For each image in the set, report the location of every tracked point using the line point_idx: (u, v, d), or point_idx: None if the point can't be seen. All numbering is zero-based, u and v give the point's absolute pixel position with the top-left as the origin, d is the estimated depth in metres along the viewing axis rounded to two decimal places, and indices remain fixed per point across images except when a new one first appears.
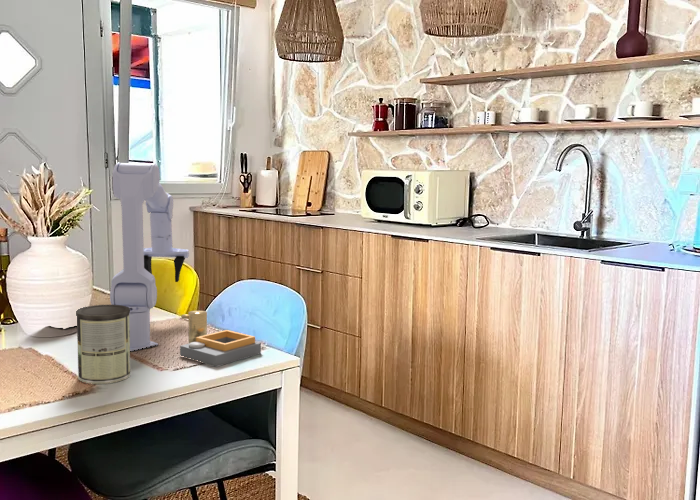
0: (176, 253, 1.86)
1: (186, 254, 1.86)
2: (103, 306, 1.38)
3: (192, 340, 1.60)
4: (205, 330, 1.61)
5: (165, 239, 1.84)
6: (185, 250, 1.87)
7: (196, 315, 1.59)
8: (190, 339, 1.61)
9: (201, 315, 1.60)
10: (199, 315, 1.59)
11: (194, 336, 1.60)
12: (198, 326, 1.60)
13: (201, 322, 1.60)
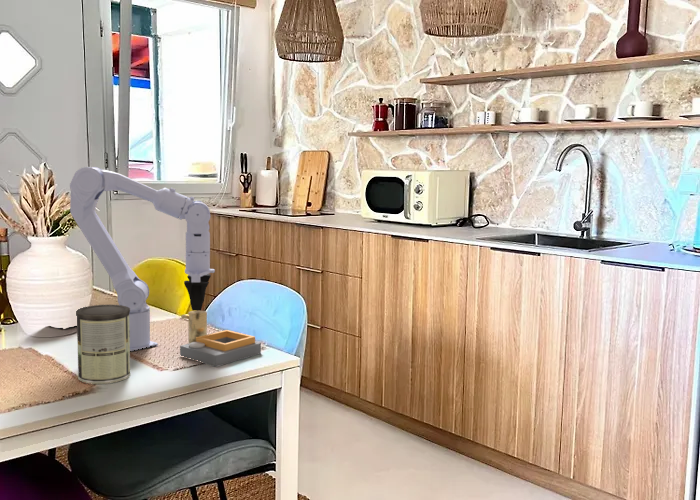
0: (189, 274, 1.56)
1: (191, 277, 1.53)
2: (103, 306, 1.38)
3: (192, 340, 1.60)
4: (205, 330, 1.61)
5: (187, 254, 1.58)
6: (195, 273, 1.54)
7: (196, 315, 1.59)
8: (190, 339, 1.61)
9: (201, 315, 1.60)
10: (199, 315, 1.59)
11: (194, 336, 1.60)
12: (197, 326, 1.60)
13: (201, 322, 1.60)
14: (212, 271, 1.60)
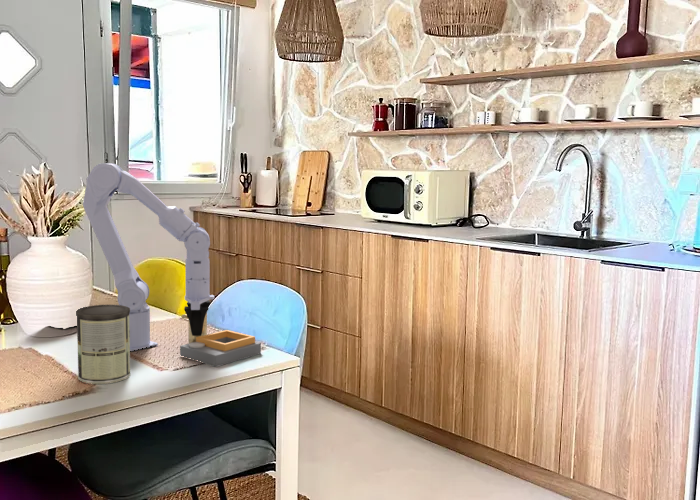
0: (189, 301, 1.56)
1: (191, 305, 1.54)
2: (103, 306, 1.38)
3: (192, 340, 1.60)
4: (205, 330, 1.61)
5: (187, 281, 1.59)
6: (195, 301, 1.55)
7: None
8: (190, 339, 1.61)
9: None
10: None
11: (194, 336, 1.60)
12: None
13: None
14: (212, 298, 1.60)
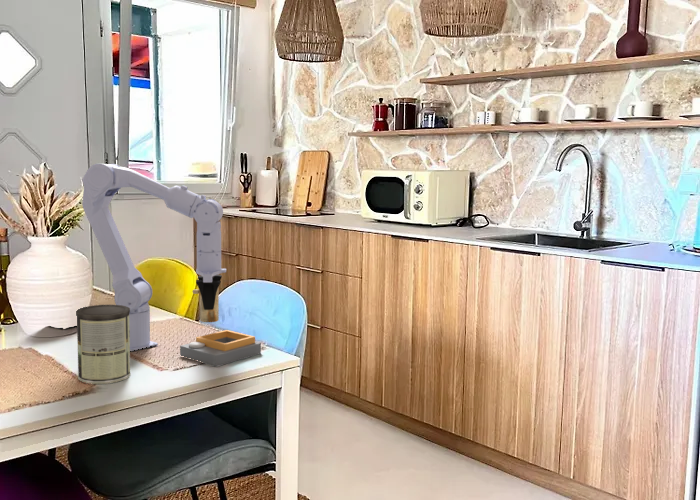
0: (200, 274, 1.53)
1: (203, 277, 1.50)
2: (103, 306, 1.38)
3: (203, 315, 1.57)
4: (217, 305, 1.58)
5: (198, 254, 1.55)
6: (207, 273, 1.51)
7: None
8: (201, 315, 1.57)
9: None
10: None
11: (205, 311, 1.56)
12: None
13: None
14: (224, 271, 1.57)
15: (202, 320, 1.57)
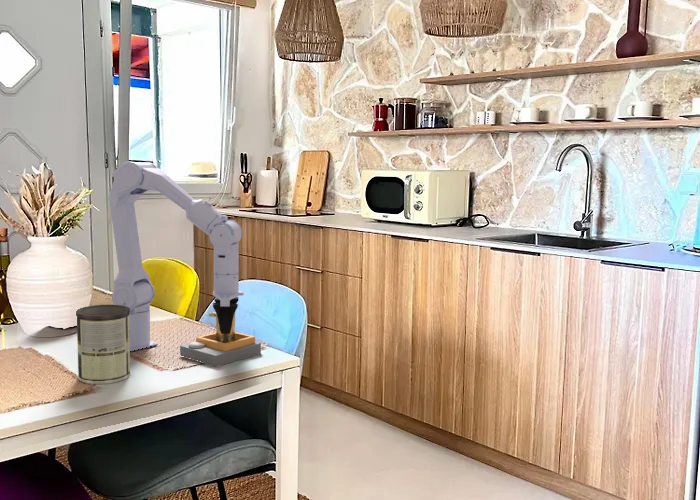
0: (217, 297, 1.49)
1: (220, 301, 1.47)
2: (103, 306, 1.38)
3: (219, 339, 1.53)
4: (233, 329, 1.54)
5: (215, 277, 1.51)
6: (224, 297, 1.47)
7: None
8: (217, 338, 1.53)
9: None
10: None
11: (221, 335, 1.52)
12: None
13: None
14: (241, 294, 1.53)
15: None
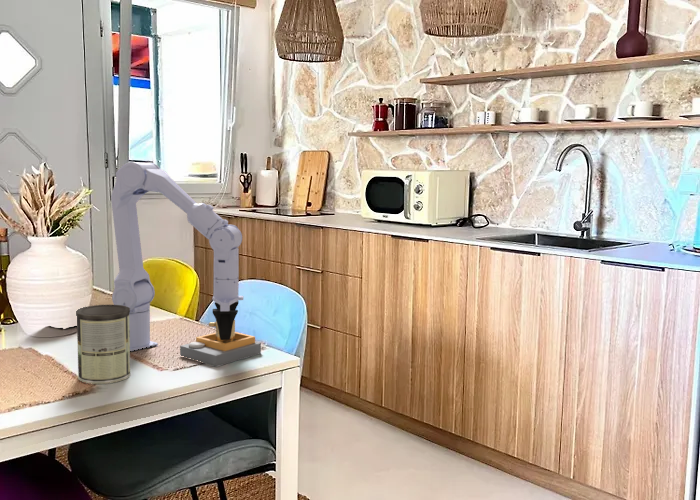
0: (217, 302, 1.49)
1: (220, 306, 1.47)
2: (103, 306, 1.38)
3: None
4: (233, 339, 1.54)
5: (215, 281, 1.51)
6: (224, 302, 1.47)
7: None
8: None
9: None
10: None
11: None
12: None
13: None
14: (241, 298, 1.53)
15: None
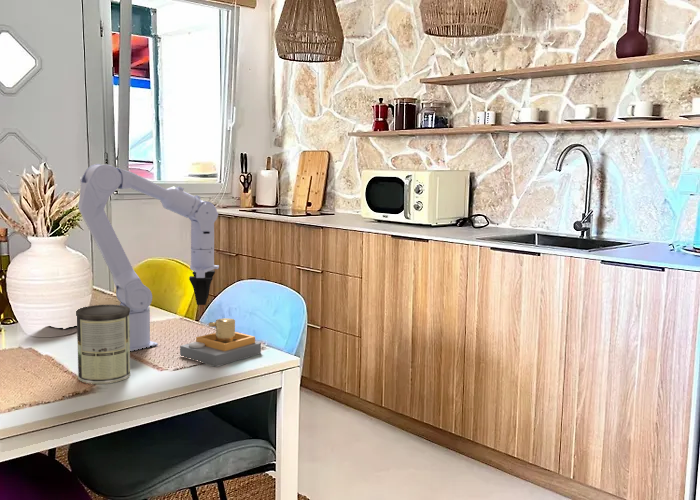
0: (194, 270, 1.62)
1: (196, 273, 1.60)
2: (103, 306, 1.38)
3: None
4: (233, 339, 1.54)
5: (192, 251, 1.64)
6: (200, 269, 1.60)
7: (223, 323, 1.52)
8: None
9: (228, 323, 1.52)
10: (226, 323, 1.52)
11: None
12: (225, 335, 1.52)
13: (228, 331, 1.52)
14: (216, 267, 1.66)
15: None
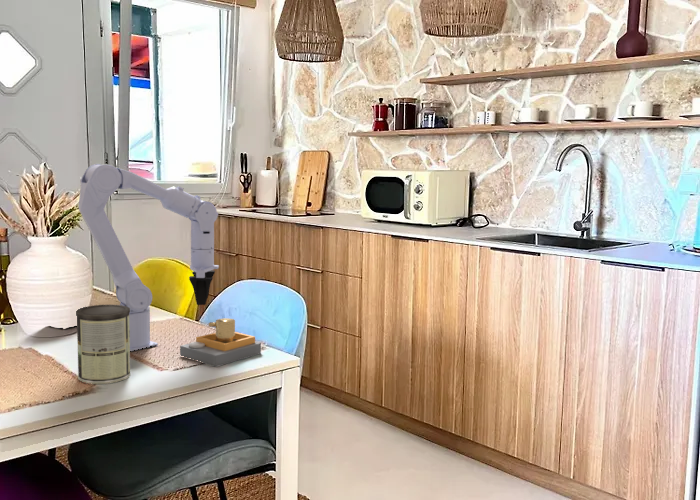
0: (194, 270, 1.62)
1: (196, 273, 1.60)
2: (103, 306, 1.38)
3: None
4: (233, 339, 1.54)
5: (192, 251, 1.64)
6: (200, 269, 1.60)
7: (223, 323, 1.52)
8: None
9: (228, 323, 1.52)
10: (226, 323, 1.52)
11: None
12: (225, 335, 1.52)
13: (228, 331, 1.52)
14: (216, 267, 1.66)
15: None
